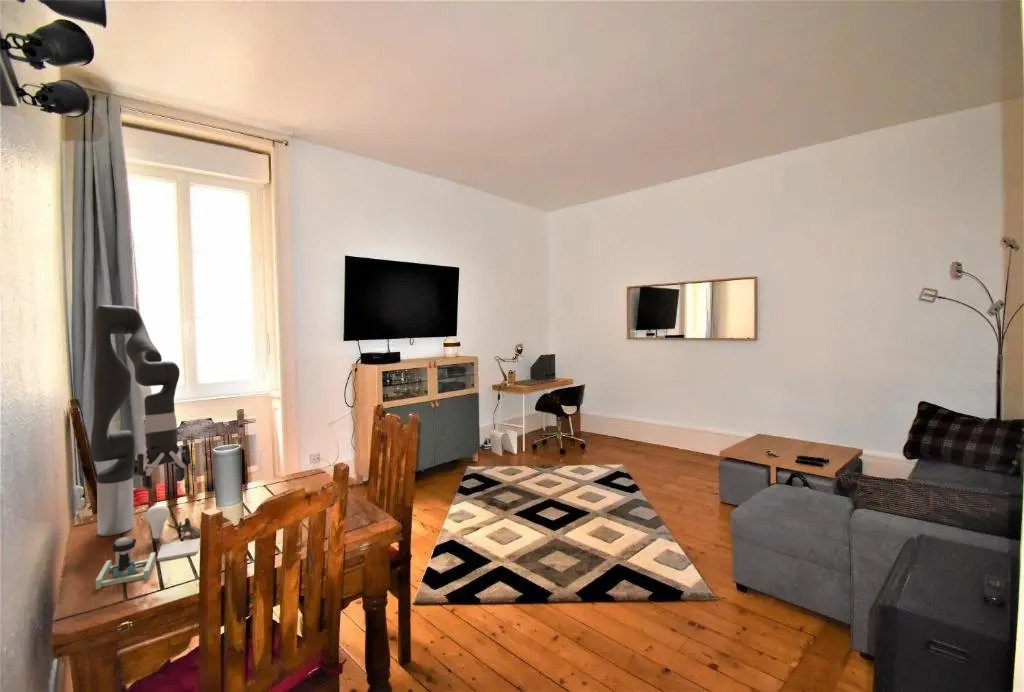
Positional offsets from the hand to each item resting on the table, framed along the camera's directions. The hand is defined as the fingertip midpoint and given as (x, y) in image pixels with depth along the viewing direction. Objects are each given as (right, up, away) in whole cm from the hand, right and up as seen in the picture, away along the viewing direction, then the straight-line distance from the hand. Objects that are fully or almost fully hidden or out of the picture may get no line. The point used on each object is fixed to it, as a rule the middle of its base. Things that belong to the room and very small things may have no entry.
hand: (164, 484), depth 138 cm
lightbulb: (-13, -22, +14) cm, 29 cm away
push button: (-5, -23, -8) cm, 24 cm away
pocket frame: (-5, -23, -8) cm, 24 cm away
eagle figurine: (-5, -22, +17) cm, 28 cm away
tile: (0, -22, +7) cm, 23 cm away
